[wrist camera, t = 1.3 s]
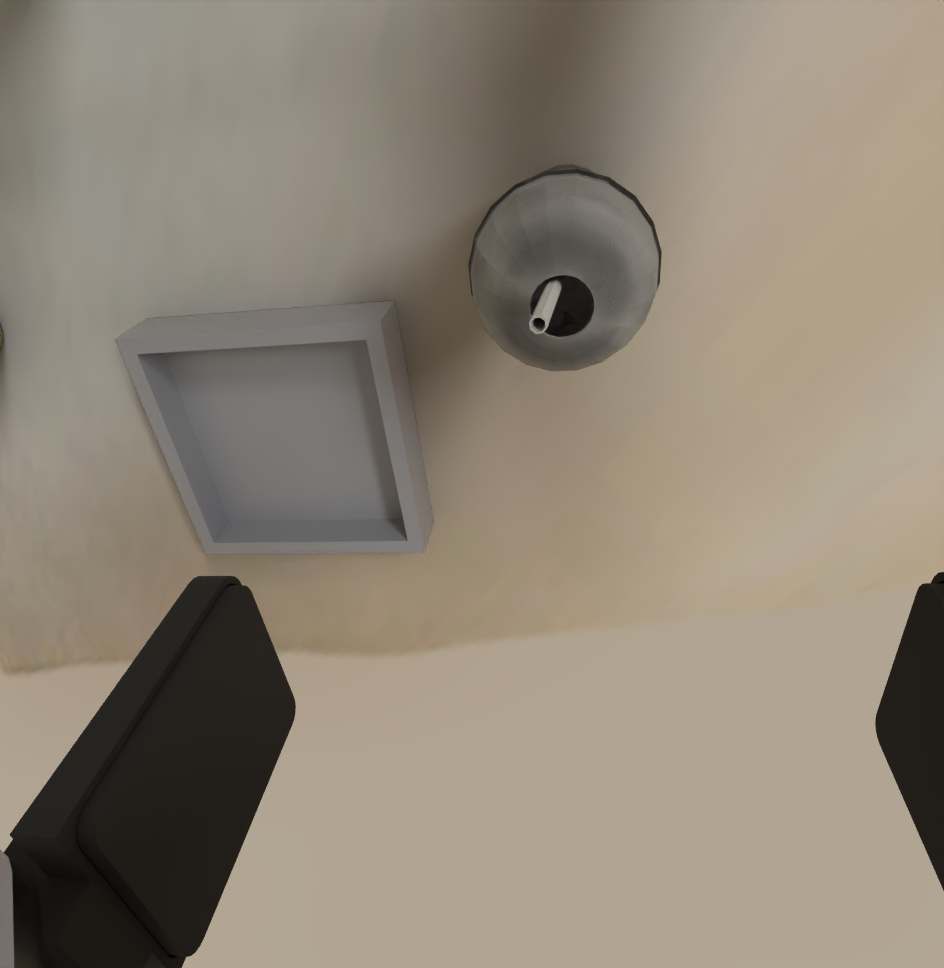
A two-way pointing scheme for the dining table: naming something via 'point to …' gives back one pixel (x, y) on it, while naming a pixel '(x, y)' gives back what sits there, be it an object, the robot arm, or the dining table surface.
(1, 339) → the squeeze bottle
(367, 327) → the tray
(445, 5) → the dining table surface
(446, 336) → the dining table surface
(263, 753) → the robot arm
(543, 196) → the beverage cup
